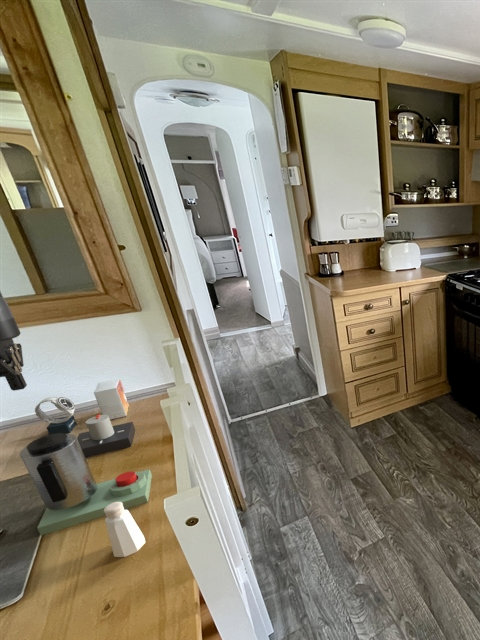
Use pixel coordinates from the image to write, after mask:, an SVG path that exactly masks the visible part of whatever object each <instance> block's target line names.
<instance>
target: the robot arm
mask: <svg viewBox="0 0 480 640" xmlns="http://www.w3.org/2000/svg"><path fill="white" fill-rule="evenodd" d="M20 335H21V331H20V328H19V326H18V324H17V322H16V319H15V317H14V315H13V313H12V310H11V307H10V306H9V304H8V302H7V301H6V299H5V297H4V296H3V293H2V291H1V290H0V378H5V380H6V382H7V384H8V386H9V388H10V390H11V391H14V392H15V391H20V390H24V389H26V387H27V385H28V384H27V382H26V380H25V377H24V376H23V373H22V372H23V367H24V365H25V364H24V357H23V349H22V344H21V343H20V342H19V343H15V341H14V339H15V338H17V337H19V336H20Z"/></svg>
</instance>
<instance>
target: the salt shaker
mask: <svg viewBox="0 0 480 640" xmlns="http://www.w3.org/2000/svg"><path fill="white" fill-rule="evenodd" d="M104 512H105V513H106V515H105V516H106V518H104V520H105V525H106V530H107V534H108V538H109V542H110V545H111V550H112V554H113V558H126V557H128V556H131V555H133V554H135V553H137V552H138V551H140V549H141V548H142V547H143V546H144V545H145V544H146V543H147V542H146V539H145V536H144V534H143V532H142V531H141V529H140V527H139V526H138V524H137V523H136V520H135V519H134V518H133V516H132V514H131V512H130V511H129V510H128V509H124V507H123V504H122V502H114V503H111V504H109V505H108V506H106V507H105V509H104Z"/></svg>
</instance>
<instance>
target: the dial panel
mask: <svg viewBox="0 0 480 640" xmlns="http://www.w3.org/2000/svg"><path fill="white" fill-rule="evenodd" d="M112 427H113V430H114V434H113V435H112V436H110V437H108V438H106V439H102V440H93V439H92V437H91V435H90V432H89V430H88V431H85V432H80V433H78V435H77V436H76V437H77V439H78V442H79V444H80V447H81V449H82V451H83V454H84V456H85V458H86V459H87V458H90V457H94V456H98V455H102V454H103V455H104V454H106V453H110V452H115V451H118V450H122V449H126V448H131V447H132V446H133V441H134V437H135V433H136V427H135V425H134V421H130V422H124V423H121V424H115V425H112ZM130 446H131V447H130Z"/></svg>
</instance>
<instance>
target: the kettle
mask: <svg viewBox="0 0 480 640" xmlns="http://www.w3.org/2000/svg"><path fill="white" fill-rule="evenodd" d="M77 437H78V436H77V435H75V434H72V433H67V434H64V433H57V434H51V435H49V434H48V435H43V436H42V437H38V438H36V439H34V440H32V441H31V442H29V443H28V444H27V445H26V446H25V447H24V448H23V449H21V450H20V452H19V456H20V458H21V461H23V465H24V466H25V468H26V470H27V472H28V474H29V476H30V478H31V480H32V482H33V484H34V486H35V488H36V490H37V492H38V494H39V496H40V498H41V499H42V502H43V504H44V506H45V508H48V509H50V510H61V509H66V508H69V507H72V506H75V505H77V504H79V503H81V502H83V501H85V500H87V499H88V498H90V497H91V496H92V495H93V494H94V493H95V492H96V491H97V488H98V487H97V484H98V483H97V482H96V480H95V477H94V475H93V473H92V470H91V468H90V465H89V463H88V461H87V457H86V458H85V456H84V454H83V451H82V449H81V447H80V444H79V442H78V439H77Z"/></svg>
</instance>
